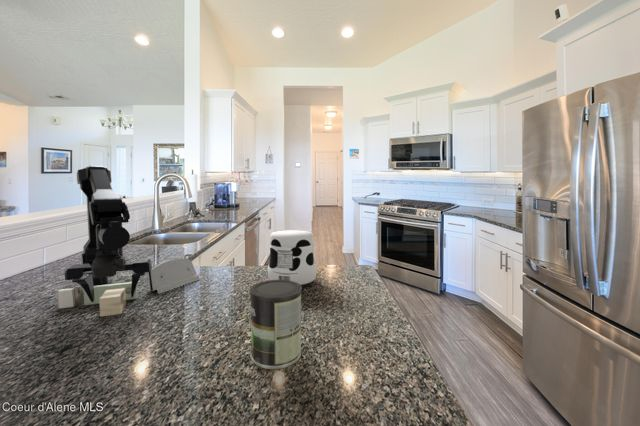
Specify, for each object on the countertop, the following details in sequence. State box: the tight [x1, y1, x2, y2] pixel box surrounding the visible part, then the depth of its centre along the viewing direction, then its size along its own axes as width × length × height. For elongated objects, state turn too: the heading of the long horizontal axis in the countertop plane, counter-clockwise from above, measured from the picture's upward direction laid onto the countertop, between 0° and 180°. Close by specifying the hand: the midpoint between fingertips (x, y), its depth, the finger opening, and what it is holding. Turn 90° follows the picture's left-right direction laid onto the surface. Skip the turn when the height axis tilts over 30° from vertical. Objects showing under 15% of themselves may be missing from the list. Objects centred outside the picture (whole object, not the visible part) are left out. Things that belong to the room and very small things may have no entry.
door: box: [82, 281, 138, 306], centre depth 87 cm, size 3×13×5 cm, turn 114°
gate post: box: [73, 285, 84, 307], centre depth 85 cm, size 2×2×6 cm
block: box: [98, 288, 127, 318], centre depth 81 cm, size 7×4×5 cm, turn 24°
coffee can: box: [249, 279, 303, 370], centre depth 59 cm, size 10×10×14 cm
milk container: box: [267, 229, 317, 287], centre depth 104 cm, size 17×17×18 cm
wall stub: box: [57, 287, 76, 310], centre depth 84 cm, size 2×3×5 cm, turn 114°
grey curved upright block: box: [146, 258, 201, 295], centre depth 103 cm, size 17×5×10 cm, turn 152°
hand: (113, 299), depth 81 cm, fingers open, 9 cm apart
